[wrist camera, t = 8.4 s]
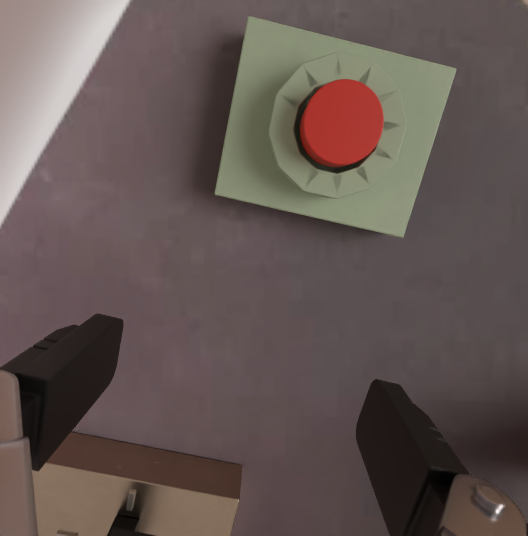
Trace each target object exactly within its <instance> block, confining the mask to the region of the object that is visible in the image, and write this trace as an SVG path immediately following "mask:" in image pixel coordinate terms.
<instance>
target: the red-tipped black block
mask: <svg viewBox="0 0 528 536" xmlns="http://www.w3.org/2000/svg"><path fill="white" fill-rule="evenodd" d="M138 525H139V520H137V519H131V518H125V517H120V516H116V517H115V519H114V521H113V523H112V525H111V527H110V529H109V532H108V534H107V536H109V534H110V532H111V530H112V528H113V527H117V528H122V529H127V530H132V531H136V532H137V531H138Z"/></svg>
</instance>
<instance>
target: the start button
mask: <svg viewBox="0 0 528 536" xmlns="http://www.w3.org/2000/svg"><path fill="white" fill-rule="evenodd" d="M383 125H384V114H383V109H382V105H381V103H380V101H379V99H378V97H377V95H376V94H375V93H374V92H373V91H372V90H371V89H370V88H369V87H368V86H366V85H365V84H363V83H361V82H359V81H356V80H351V79H340V80H335V81H332V82H330V83H327V84H326V85H324V86H323V87H321V88H320V89H319V90H318V91H317V92H316V93H315V94H314V95H313V96H312V98H311V99H310V101H309V103H308V105H307V107H306V109H305V111H304V113H303V115H302V119H301V123H300V137H301V142H302V145H303V147H304V149H305V151H306V152H307V154H308V155H309V156H310V157H311V158H312V159H313V160H314V161H316V162H318V163H319V164H322V165H324V166H328V167H342V166H346V165H349V164H352V163H355V162H358V161H360V160H361V159H363V158H365V157H366V156H367V155H368V154H369V153H370V152H371V151H372V150H373V149H374V148H375V146H376V145H377V143H378V141H379V139H380V137H381V134H382V131H383Z"/></svg>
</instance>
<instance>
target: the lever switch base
mask: <svg viewBox="0 0 528 536" xmlns="http://www.w3.org/2000/svg"><path fill="white" fill-rule="evenodd" d="M32 475H33V485H34V495H35V505H36V516H37V526H38V536H107V534H108V532H109V529H110V527H111V525H112V523H113V521H114V519H115V517H116V516H120V517H125V518H131V519H137V520H139V525H138V531H137V532H141V533H146V534H151V535H156V536H231V532H232V528H233V524H234V520H235V516H236V512H237V508H238V504H239V500H240V489H241V478H242V465H237V464H232V463H227V462H222V461H217V460H212V459H207V458H202V457H196V456H191V455H186V454H181V453H176V452H171V451H166V450H161V449H156V448H151V447H146V446H140V445H135V444H130V443H125V442H120V441H115V440H110V439H105V438H100V437H95V436H89V435H84V434H79V433H74V432H70V434H69V435H68V436H67V437H66V439H65V440H64V441H63V442H62V443H61V445H60V446H59V447H58V448H57V450H56V451H55V452H54V453H53V455H52V456H51V457H50V458H49V459H48V461H47V462H46V463H45V464H44V466H43V467H42V468H41V469H40V471H39V472H38V471H33V470H32Z"/></svg>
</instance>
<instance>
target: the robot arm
mask: <svg viewBox="0 0 528 536" xmlns="http://www.w3.org/2000/svg"><path fill="white" fill-rule="evenodd" d="M122 331H123V320H122V319H119V318H115V317H111V316H106V315H102V314H95V315H94V316H92V317H91V318H90V319H88V320H87V321H85V322H84V323H83V324H81V325H80V326H78V325H71V326H68V327H65V328H61V329H58V330H56V331H54V332H53V333H51V334H50V335H48V336H47V337H45V338H44V340H41V341H39V342H38V343H36V344H35V345H34V346H33V348H32V347H30V348H29V349H27V350H26V351H24V352H23V353H21V354H20V355H18V356H17V357H15V358H14V359H12V360H11V361H9V362H8V363H6V364H5V365H3V366H2V367H0V536H38V526H37V516H36V505H35V495H34V485H33V475H32V470H33V471H38V472H39V471H40V469H41V468H42V467H43V466H44V464H45V463H46V462H47V461H48V459H49V458H50V457H51V456H52V455H53V453H54V452H55V451H56V450H57V448H58V447H59V446H60V445H61V443H62V442H63V441H64V440H65V439H66V437H67V436H68V435H69V434H70V432H71V431H72V430H73V429H74V427H75V426H76V425H77V424H78V422H79V421H80V420H81V419H82V418H83V416H84V415H85V414H86V413H87V411H88V410H89V409H90V408H91V406H92V405H93V404H94V403H95V402H96V400H97V399H98V398H99V397H100V395H101V394H102V393H103V392H104V390H105V389H106V388H107V387H108V385H109V384H110V382H111V380H112V378H113V376H114V373H115V370H116V367H117V361H118V355H119V349H120V343H121V337H122ZM437 430H438V429H437V428H436V426H435V425H434V423H433V422H432V421H431V419H430V418H429V416H427V415H426V414H425V413H424V412H423V411H422V410H421V409H419V408H418V407H417V406H416V405H415V404H413V403H412V401H411V400H410V398H409V397H408V396H407V394H406V393H405V391H404V390H403V388H402V387H401V386H400V385H399V384H395V383H390V382H386V381H382V380H378V379H375V380H374V381H373V382H372V383H371V385H370V388H369V390H368V393H367V396H366V399H365V402H364V405H363V407H362V410H361V413H360V416H359V419H358V422H357V427H356V440H357V444H358V447H359V449H360V452H361V455H362V458H363V461H364V464H365V466H366V469H367V472H368V475H369V478H370V481H371V483H372V486H373V489H374V492H375V495H376V498H377V500H378V503H379V506H380V509H381V512H382V515H383V518H384V520H385V523H386V526H387V529H388V532H389V535H390V536H528V524H527V523H526V520H525V518H524V515H523V514H522V512H521V510H520V509H519V508H518V506H517V505H516V504H515V503H514V502H513V501H512V500H511V499H510V498H509V497H508V496H507V495H506V494H504V493H503V492H502V491H501V490H499V489H498V488H497V487H495V486H494V485H492V484H490V483H489V482H487V481H485V480H483V479H481V478H479V477H476V476H473V475H470V474H469V473H468V471H467V470H466V469H465V467H464V466H463V464H462V463H461V462H460V460H459V459H458V457H457V456H456V455H455V453H454V452H453V450H452V449H451V447H450V446H449V445H448V443H446V442H445V439H444V438H443V436H442V435H441V433H440V432H438V431H437ZM109 536H156V535H151V534H146V533H141V532H136V531H132V530H127V529H122V528H117V527H113V528H112V530H111V532H110V534H109Z"/></svg>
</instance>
